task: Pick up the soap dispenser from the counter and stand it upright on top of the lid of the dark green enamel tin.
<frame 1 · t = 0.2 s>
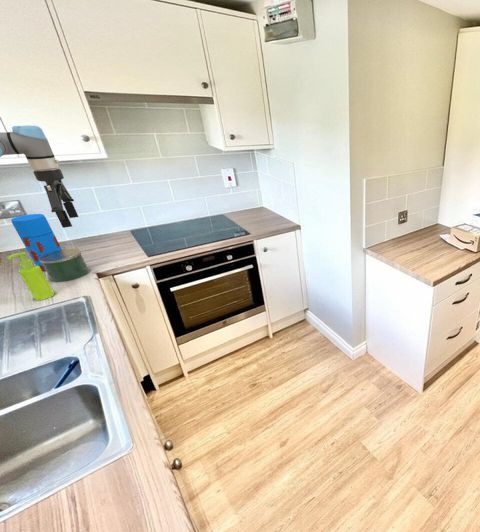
hand: (71, 222, 133), 29 cm above the worktop, tool pointing down, fingers open, 13 cm apart
tin: (70, 274, 151), on the worktop
blue spotted box: (53, 266, 158), on the worktop
soap dispenser: (43, 297, 134), on the worktop
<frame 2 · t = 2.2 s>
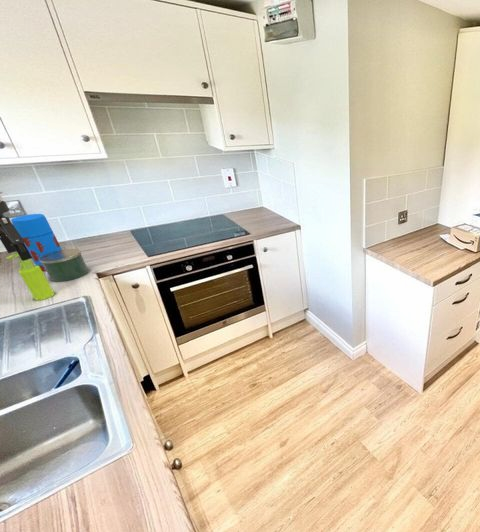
hand: (20, 255, 125), 19 cm above the worktop, tool pointing down, fingers open, 13 cm apart
nothing on the worktop moved.
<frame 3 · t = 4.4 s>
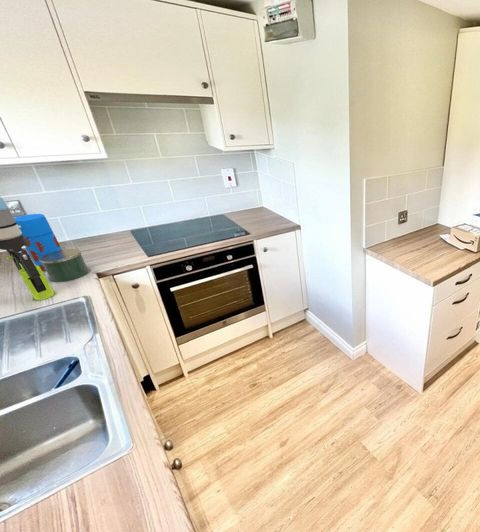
hand: (38, 288, 132), 4 cm above the worktop, tool pointing down, fingers closed on soap dispenser, 6 cm apart
soap dispenser: (43, 297, 134), on the worktop, touching gripper
everything else where it was.
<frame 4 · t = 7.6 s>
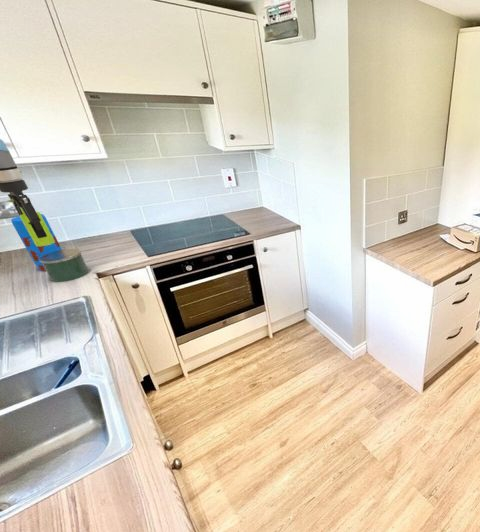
hand: (39, 235, 135), 22 cm above the worktop, tool pointing down, fingers closed on soap dispenser, 6 cm apart
soap dispenser: (44, 244, 137), point 18 cm above the worktop, touching gripper
everything else where it was.
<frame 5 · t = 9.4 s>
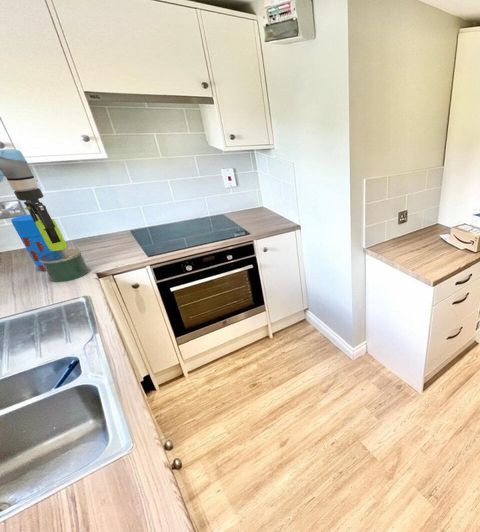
hand: (53, 240, 143), 17 cm above the worktop, tool pointing down, fingers closed on soap dispenser, 6 cm apart
soap dispenser: (57, 249, 145), point 13 cm above the worktop, touching gripper
everything else where it was.
when the fingers open (14 cm above the worktop, at t = 10.7 s): soap dispenser stays where it is, resting on tin.
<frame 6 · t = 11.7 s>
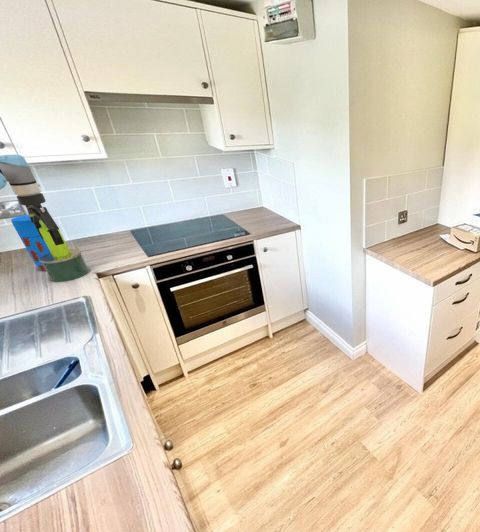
hand: (53, 241, 143), 17 cm above the worktop, tool pointing down, fingers open, 13 cm apart
tin: (70, 274, 151), on the worktop, touching soap dispenser
soap dispenser: (60, 255, 146), point 10 cm above the worktop, touching tin
everything else where it was.
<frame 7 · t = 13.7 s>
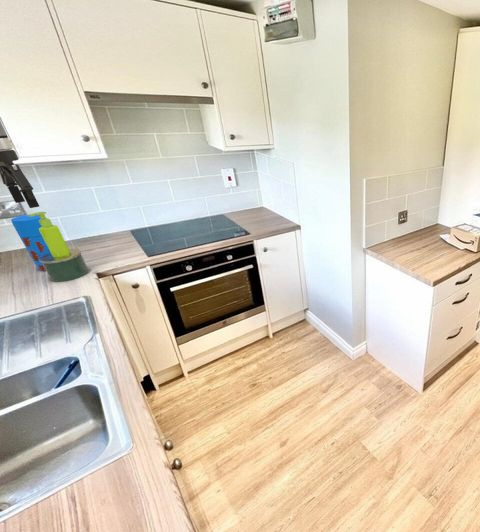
hand: (27, 204, 131), 35 cm above the worktop, tool pointing down, fingers open, 13 cm apart
nothing on the worktop moved.
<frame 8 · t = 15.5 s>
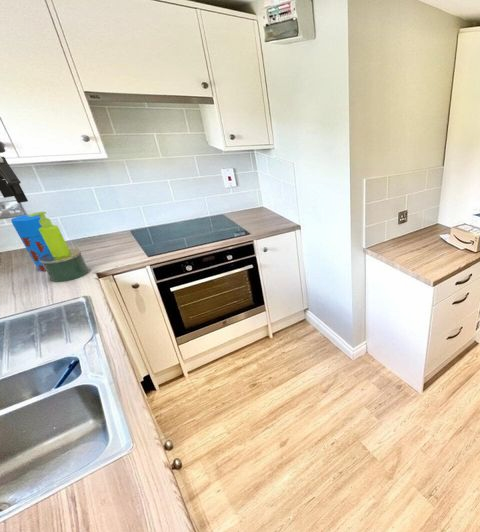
hand: (15, 199, 125), 39 cm above the worktop, tool pointing down, fingers open, 13 cm apart
nothing on the worktop moved.
at the end: soap dispenser 0.1 cm off-centre on the tin, point 10.2 cm above the tin's base; soap dispenser tilted 0°; the gripper is holding nothing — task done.
